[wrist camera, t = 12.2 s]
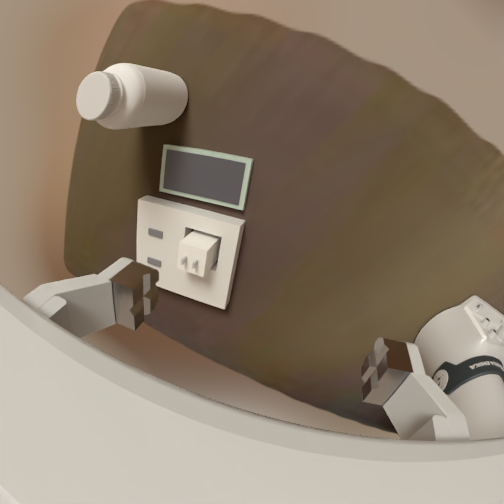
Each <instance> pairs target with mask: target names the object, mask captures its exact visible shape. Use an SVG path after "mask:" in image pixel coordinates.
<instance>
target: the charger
mask: <svg viewBox="0 0 504 504" xmlns="http://www.w3.org/2000/svg"><path fill="white" fill-rule="evenodd" d="M221 238H222V237H219V236H216V235H212V234H209V233H205V232H202V231H198V230H193V231H192V232H191V233H190V234H189V235H187V236H186V237H185V238H184V239H183V240H181V241H180V242H179V250H178V261H177V268H178V269H181V270H184V271H187V272H189V273H192V274H195V275H198V276H201V277H204V276H205V275H206V273H207V272H208V271H209V269H210V268H211V267H212V266H213V264H214V263H215V262H216V261H217V259H218V257H219V250H220V244H221Z"/></svg>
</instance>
